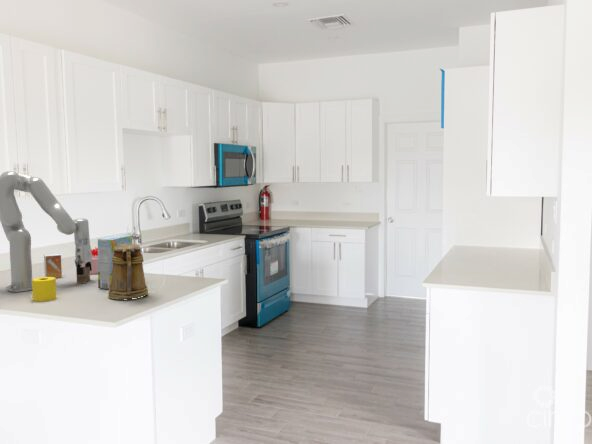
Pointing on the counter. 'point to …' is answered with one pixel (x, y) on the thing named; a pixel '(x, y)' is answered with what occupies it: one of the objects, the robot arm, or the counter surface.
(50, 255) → the small box
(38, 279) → the tape roll
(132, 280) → the tankard
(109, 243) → the snack box
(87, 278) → the walnut block
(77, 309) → the counter surface
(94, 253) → the cake
